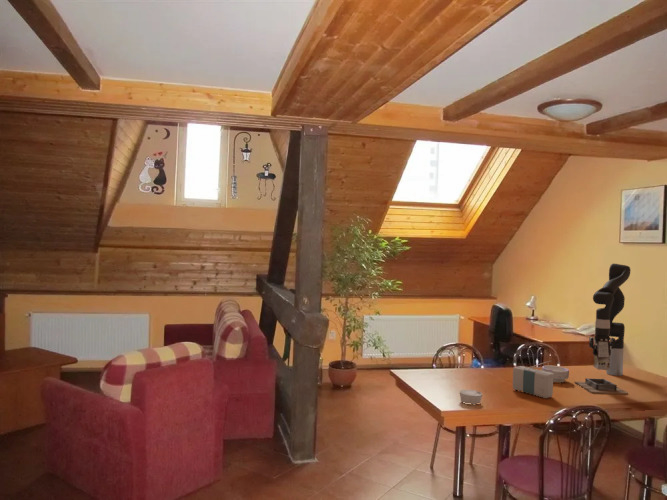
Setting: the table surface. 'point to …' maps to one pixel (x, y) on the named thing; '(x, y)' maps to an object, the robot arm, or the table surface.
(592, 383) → the collar board
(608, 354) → the coffee box
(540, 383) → the stereo radio cassette player
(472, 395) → the ramekin
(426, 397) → the table surface
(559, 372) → the paper bowls
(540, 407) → the table surface
